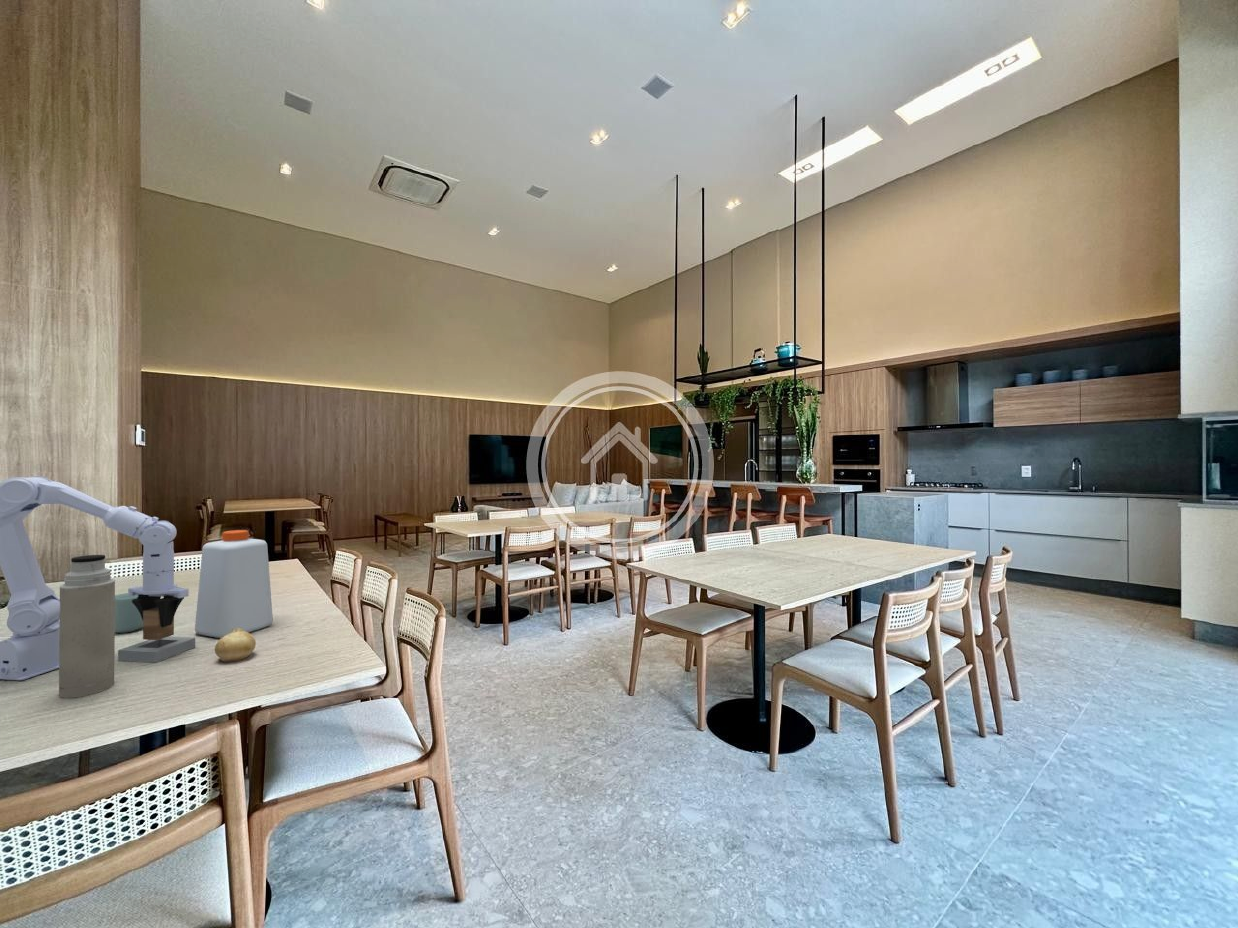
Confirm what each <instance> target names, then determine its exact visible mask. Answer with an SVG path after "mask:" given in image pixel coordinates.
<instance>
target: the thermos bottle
mask: <svg viewBox="0 0 1238 928" xmlns="http://www.w3.org/2000/svg"><path fill="white" fill-rule="evenodd" d="M70 560H71V565H70V571H68V572H67V573H65V574H64V578H63V581H64V584H61V585H59V599H60V618H59V668H58V696H59V697H60V698H63V699H64V698H65V699H73V698H81V697H85V696H89V695H93V694H96V693H100V692H103V691H105V690H107V689H110V688H112V687H113V686H114V685H115V652H116V651H115V642H116V641H115V640H116V639H115V638H116V637H115V633H116V632H115V595H116V580H115V579H113V578H111V575H112V572H111V569H109V568H106V563H105V560H106V555H104V554H89V555H87V554H86V555H80V556H75V557H72V558H71V559H70Z"/></svg>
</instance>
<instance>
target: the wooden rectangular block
mask: <svg viewBox="0 0 1238 928" xmlns="http://www.w3.org/2000/svg"><path fill="white" fill-rule="evenodd" d="M174 634H175V617H174V618H173V622H172V625H169V626H166V627H161V624H160V614H159V610H158V607H156V608H152V609H148V610H145V611H143V627H142V640H143V641H144V640H145V641H147V640H160V639H163V638H166V637H168V636H175V635H174Z"/></svg>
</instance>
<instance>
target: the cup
mask: <svg viewBox="0 0 1238 928" xmlns="http://www.w3.org/2000/svg"><path fill="white" fill-rule="evenodd" d="M137 597H138V596H135V595H134V596H128V592H124V593H119V594H115V633H117V634H126V633H132V632H136V631H138V630H140V629H143V620H142V617H141V615H140V613H139V611H138V609H137V608H136V606H135V605H134V604H133V603H132V600H133V599H137Z"/></svg>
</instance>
